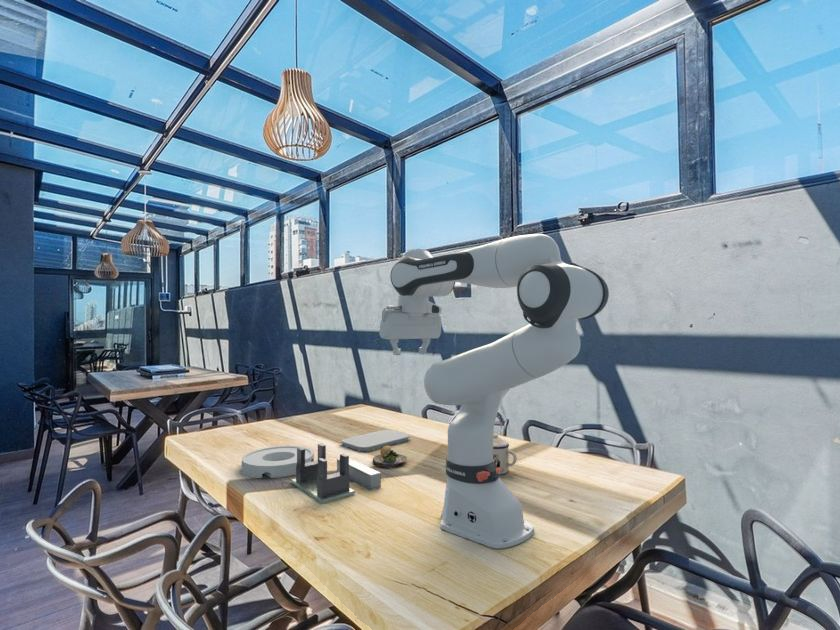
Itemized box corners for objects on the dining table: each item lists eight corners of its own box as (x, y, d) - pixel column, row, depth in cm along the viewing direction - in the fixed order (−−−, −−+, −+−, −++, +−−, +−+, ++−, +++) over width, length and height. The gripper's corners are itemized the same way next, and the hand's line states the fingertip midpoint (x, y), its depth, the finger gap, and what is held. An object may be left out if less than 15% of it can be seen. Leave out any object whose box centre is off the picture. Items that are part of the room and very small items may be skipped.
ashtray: (293, 452, 160) (293, 442, 160) (326, 467, 144) (327, 455, 144) (230, 466, 144) (230, 454, 144) (259, 484, 127) (259, 471, 127)
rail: (380, 488, 124) (380, 472, 124) (370, 491, 122) (370, 475, 122) (346, 470, 140) (346, 456, 140) (336, 472, 138) (336, 458, 138)
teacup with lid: (475, 471, 138) (475, 435, 138) (489, 464, 145) (489, 429, 146) (510, 479, 131) (509, 440, 131) (522, 471, 138) (522, 434, 138)
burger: (402, 470, 140) (402, 447, 140) (367, 467, 142) (368, 445, 143) (410, 459, 152) (410, 438, 152) (378, 457, 154) (378, 436, 154)
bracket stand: (354, 494, 119) (354, 456, 119) (321, 503, 112) (322, 463, 113) (321, 475, 134) (322, 441, 135) (291, 482, 128) (291, 447, 128)
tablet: (337, 446, 170) (337, 440, 170) (386, 434, 188) (386, 429, 188) (363, 454, 158) (363, 448, 158) (412, 441, 177) (412, 435, 177)
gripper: (389, 306, 114) (386, 357, 114) (445, 308, 127) (442, 354, 127) (376, 304, 119) (373, 354, 119) (432, 306, 131) (429, 351, 132)
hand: (409, 354), depth 123 cm, fingers open, 8 cm apart
